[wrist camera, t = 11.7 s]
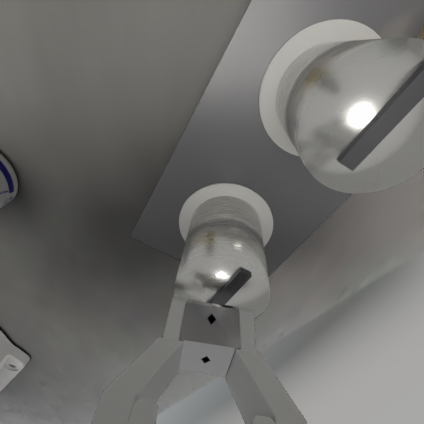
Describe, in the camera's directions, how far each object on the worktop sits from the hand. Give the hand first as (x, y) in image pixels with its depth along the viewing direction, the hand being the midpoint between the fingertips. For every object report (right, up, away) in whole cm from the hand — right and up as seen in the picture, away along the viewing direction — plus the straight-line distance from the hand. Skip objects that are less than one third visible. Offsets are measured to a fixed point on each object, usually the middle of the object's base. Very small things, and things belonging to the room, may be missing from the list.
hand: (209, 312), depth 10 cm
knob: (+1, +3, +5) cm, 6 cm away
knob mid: (+5, +9, +1) cm, 10 cm away
